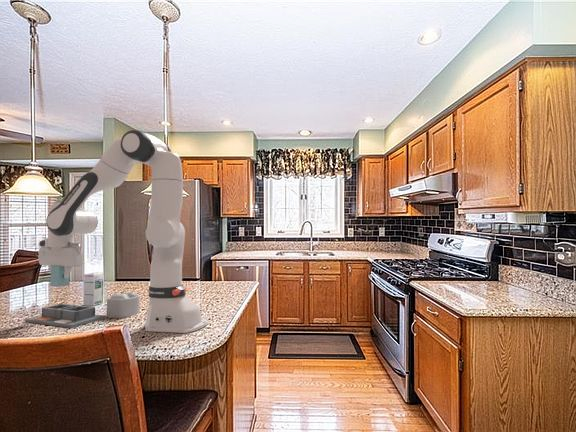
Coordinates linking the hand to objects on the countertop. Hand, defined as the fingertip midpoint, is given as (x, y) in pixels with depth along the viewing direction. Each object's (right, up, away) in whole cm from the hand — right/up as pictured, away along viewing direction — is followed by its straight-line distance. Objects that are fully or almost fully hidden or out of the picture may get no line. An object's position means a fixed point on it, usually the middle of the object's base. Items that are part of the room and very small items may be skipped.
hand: (60, 277), depth 134 cm
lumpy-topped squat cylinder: (+22, -17, +7) cm, 29 cm away
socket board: (+4, -16, -3) cm, 17 cm away
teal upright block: (0, -3, 0) cm, 3 cm away
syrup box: (-1, -17, +24) cm, 29 cm away
